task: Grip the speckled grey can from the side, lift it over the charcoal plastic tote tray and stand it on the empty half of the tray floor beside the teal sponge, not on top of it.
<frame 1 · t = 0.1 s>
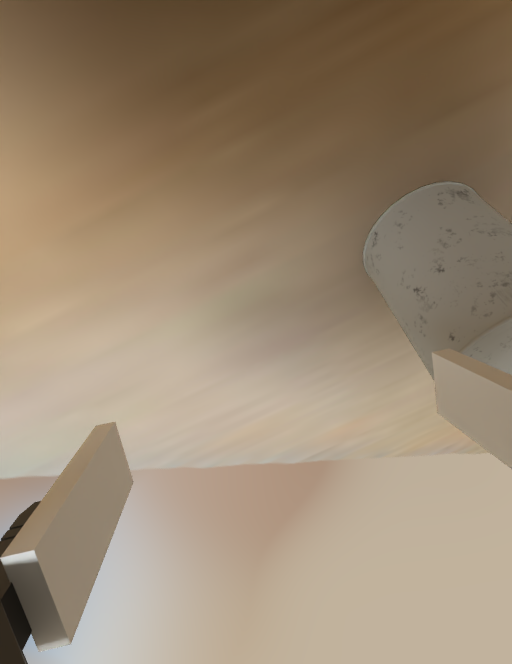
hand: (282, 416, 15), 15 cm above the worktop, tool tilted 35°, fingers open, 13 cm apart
speckled grey can: (419, 238, 30), on the worktop
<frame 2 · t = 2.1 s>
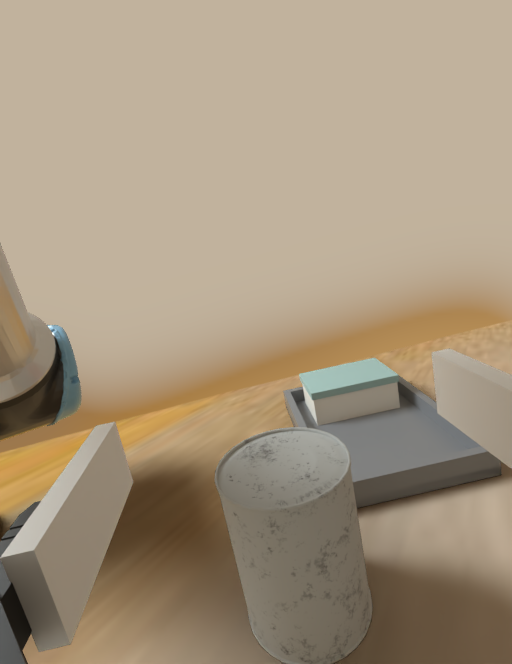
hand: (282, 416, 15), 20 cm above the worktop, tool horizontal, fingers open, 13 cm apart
tote tray: (367, 433, 51), on the worktop
speckled grey can: (309, 602, 29), on the worktop
teal sponge: (349, 405, 57), point 1 cm above the worktop, touching tote tray
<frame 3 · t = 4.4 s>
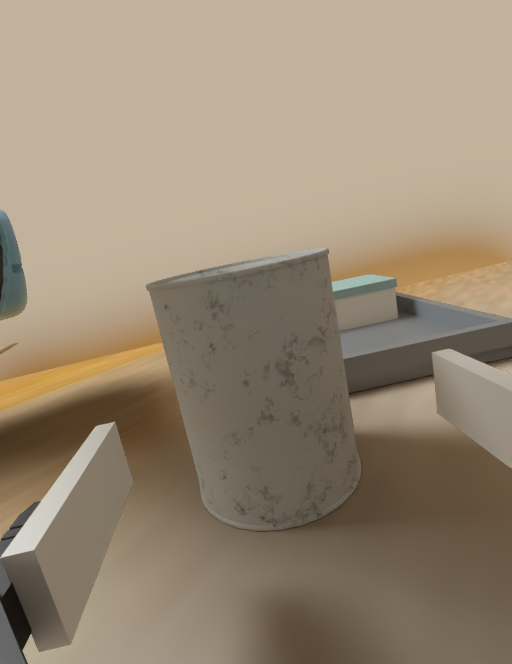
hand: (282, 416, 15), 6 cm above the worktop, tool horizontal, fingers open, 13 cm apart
tote tray: (361, 341, 44), on the worktop
speckled grey can: (280, 474, 23), on the worktop
teal sponge: (341, 322, 51), point 1 cm above the worktop, touching tote tray
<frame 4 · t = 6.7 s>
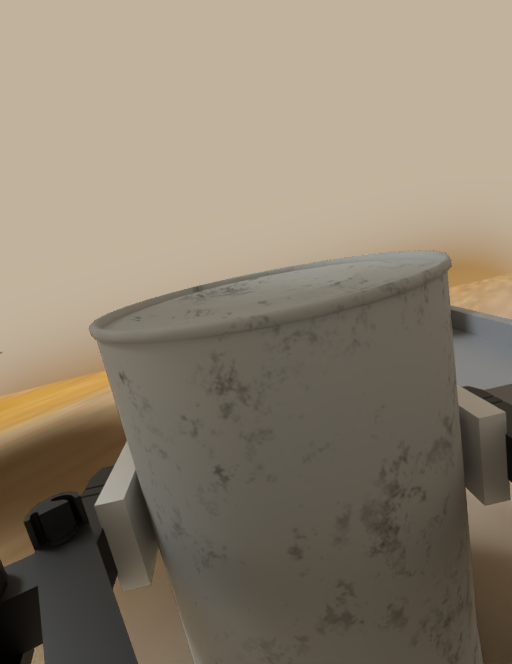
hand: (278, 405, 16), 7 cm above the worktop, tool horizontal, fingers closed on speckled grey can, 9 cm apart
tote tray: (403, 367, 35), on the worktop
speckled grey can: (329, 625, 14), on the worktop, touching gripper
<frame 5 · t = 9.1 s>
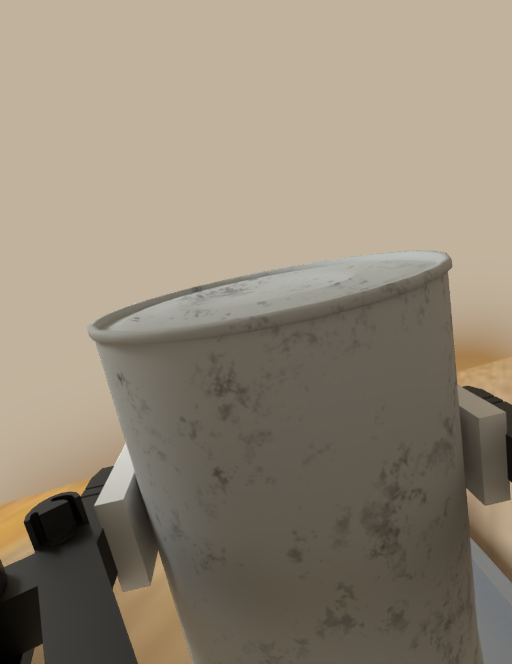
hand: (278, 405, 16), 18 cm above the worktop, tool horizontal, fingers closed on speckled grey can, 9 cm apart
tote tray: (344, 592, 27), on the worktop
speckled grey can: (329, 627, 14), point 11 cm above the worktop, touching gripper
when the fingers open (8 cm above the worktop, at t = 11.9 s): speckled grey can stays where it is, resting on tote tray.
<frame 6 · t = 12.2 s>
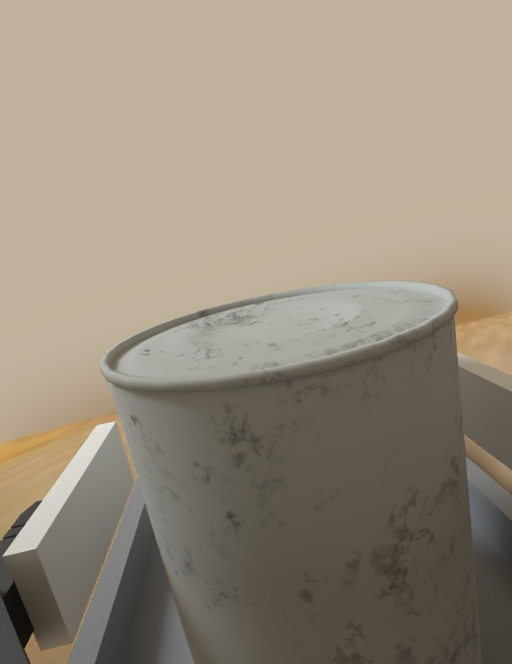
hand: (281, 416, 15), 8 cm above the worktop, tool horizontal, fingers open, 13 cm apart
tote tray: (304, 548, 19), on the worktop
speckled grey can: (334, 648, 14), point 1 cm above the worktop, touching tote tray
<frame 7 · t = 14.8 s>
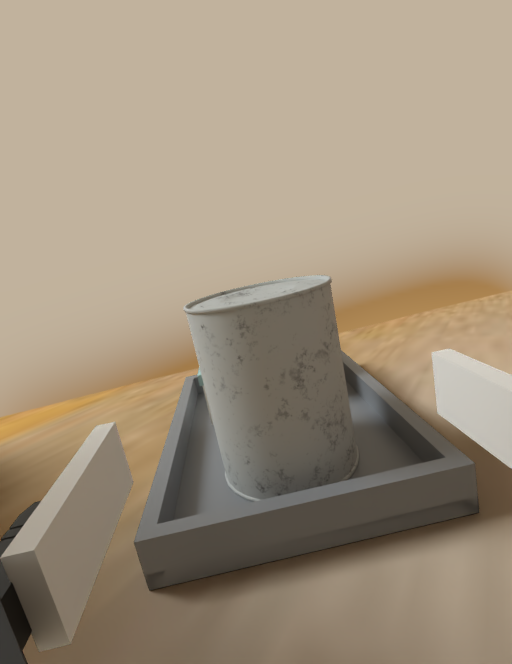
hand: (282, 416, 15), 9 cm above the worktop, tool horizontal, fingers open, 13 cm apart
tote tray: (281, 435, 33), on the worktop
speckled grey can: (291, 462, 27), point 1 cm above the worktop, touching tote tray
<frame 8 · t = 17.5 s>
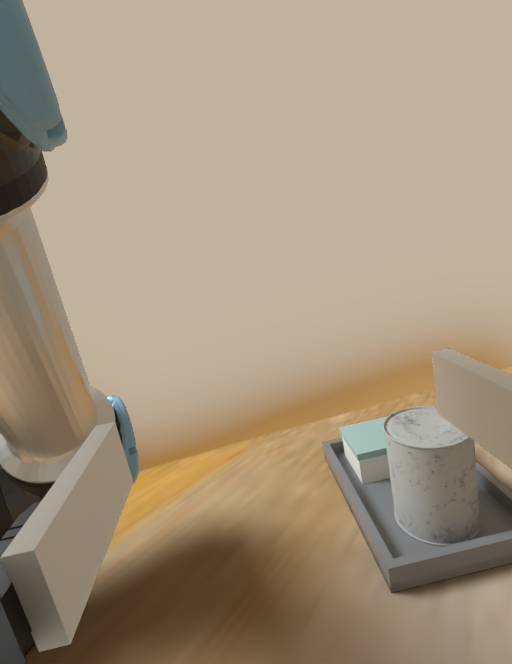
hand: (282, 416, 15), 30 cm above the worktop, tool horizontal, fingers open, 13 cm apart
tote tray: (413, 494, 52), on the worktop
speckled grey can: (435, 517, 46), point 1 cm above the worktop, touching tote tray
teal sponge: (390, 460, 59), point 1 cm above the worktop, touching tote tray
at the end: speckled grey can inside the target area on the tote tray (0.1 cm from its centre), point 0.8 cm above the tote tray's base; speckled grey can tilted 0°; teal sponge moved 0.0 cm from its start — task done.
